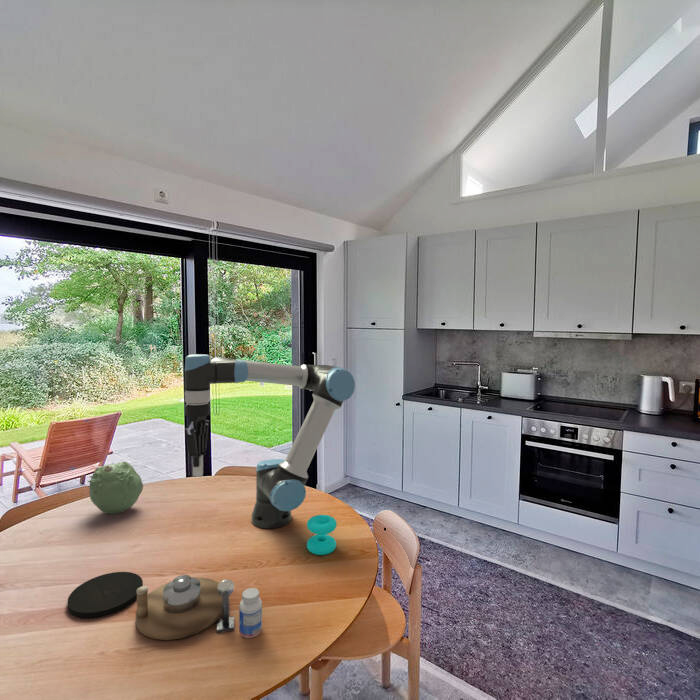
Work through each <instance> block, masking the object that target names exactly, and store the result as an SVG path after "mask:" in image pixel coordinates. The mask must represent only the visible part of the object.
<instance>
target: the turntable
mask: <svg viewBox="0 0 700 700" xmlns="http://www.w3.org/2000/svg"><path fill="white" fill-rule="evenodd" d="M193 578H196V579H198V580H199V581H200V602H199V604H198V605H197V606H196V607H195V608H193V609H192V610H190V611H187V612H184V613H179V614H172V613H168V612H166V611H165V610H164V608H163V590H164V588H165V586H166V585H167V584H168V583H169V582H167V583H165V584H163V585H160V586H159V587H156V588H155V589H153V590H152V591H150V592H148V591H149V588H148V586H146V585H143V586H142V587H139V588H138V589H137V600H136V611H135V626H136V628H137V630H138V631H139V633H141V634H142V635H144V636H146V637H148V638H151V639H154V640H163V641H165V640H166V641H167V640H169V641H171V640H178V639H183V638H188V637H189V636H193V635H196V634H199V633H201V632H202V631H203V630H206V629H208V628H209V627H211V626H212V625H213V624H214V623H216V622H217V621H218V619H219V618H221V617H222V596H220V595H219V594H218V592H217V587H218V584H219V583H220V582H219V581H217V580H215V579H211V578H207V577H193Z"/></svg>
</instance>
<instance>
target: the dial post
mask: <svg viewBox="0 0 700 700" xmlns="http://www.w3.org/2000/svg"><path fill="white" fill-rule="evenodd" d="M234 591H235V584H234V581H232V579H228V578H226V579H223V580H221V581H220V582H219V584H218V587H217V592H218V594H219V595H220V596H222V615H221V617H220V618H219V619H218V620H217V621H216V622H217V624H216V633H217V634H219V633H225V632H226V633H227V632H232V631H235V616H234V615H233V616H230V596H231V595H232V594H233V593H234Z"/></svg>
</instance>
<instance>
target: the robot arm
mask: <svg viewBox="0 0 700 700" xmlns="http://www.w3.org/2000/svg"><path fill="white" fill-rule="evenodd" d="M184 362H185V363H184V393H183V394H184V399H185V401H184V402H185V403H186V404H184V415H185V416H186V417H189V421H188V428H185V429H184V433H185V436H186V444H187V450H188V456H189V457H192V477H202V476H203V475H204V455H206V454H207V452H206V451H207V447H208V446H207V444H208V435H209V427H210V424H211V423H210V422H211V421H210V420H208V419H207V416H209V415H210V414H211V404H210V401H211V385H215V384H229V383H230V384H238V383H245V382H254V383H255V382H256V383H265V384H273V385H274V384H275V385H285V386H286V385H287V386H295V387H296V386H297V387H298V388H299V389H302V390H309V391H312V394H311V395H312V398H313V401H312V403H311V406H310V408H309V410H308V411H307V414H306V416H305V418H304V421H303V422H302V425H301V427H300V429H299V431H298V433H297V434H296V437H295V439H294V441H293V443H292V445H291V447H290V450H289V452H288V454H287V456H286V459H281V458H273V459H272V458H271V459H265V460H261V461H259V462H258V463H257V465H256V470H255V473H256V480H255V482H256V484H255V485H256V496H255V497H256V499H255V503H254V506H253V510H252V512H251V518H250V519H251V523H252V524H253V526H255V527H257V528H262V529H276V528H281V527H284V526H286V525H288V524H289V523H290V522H291V520H292V511H293V510H296V509H297V508H299V507H300V506H301V505H302V503H303V502H304V501H305V498H306V495H307V492H306V487H305V485H306V483H307V482H308V479H309V475H308V472H307V471H308V468H309V467H310V464H311V462H312V460H313V458H314V456H315V453H316V451H317V449H318V447H319V445H320V443H321V441H322V439H323V437H324V434H325V432H326V430H327V428H328V426H329V423H330V421H331V420H332V417H333V416H334V413H335V411H336V410H339V409H341V408H342V405H343V403H344V401H347V400H349V399H350V398H351V397H352V396H353V394H354V393H355V389H356V381H355V378H354V376H353V374H352V373H351V372H350V371H349V370H348V369H345V368H342V367H340V366H333V365H328V364H301V365H300V366H298V365H292V364H291V365H289V364H283V363H282V364H281V363H272V362H264V361H256V360H248V359H238V358H237V359H236V358H230V357H224V356H215V357H213V358H212V359H211V356H210V355H209V354H201V353H200V354H199V353H198V354H197V353H196V354H195V353H194V354H189V355H187V356H186V357H185V361H184Z"/></svg>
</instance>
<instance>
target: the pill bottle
mask: <svg viewBox="0 0 700 700" xmlns="http://www.w3.org/2000/svg"><path fill="white" fill-rule="evenodd" d="M241 595H242V596H241V600H240V603H239V607H238V608H239V609H238V611H239V615H238V616H239V619H238V623H239V624H238V625H239V626H238V627H239V634H240V636H241V637H242V638H243V637H244V638H247V639H250V638H254V637H255V638H256V636H258V635H259V634H260V633H261V632H262V629H263V618H262V617H263V611H262V610H263V601H262V599H261V598H260V591H259V589H257V588H254V587H249V588H246V589H245V590H244V591H243V592H242V594H241Z"/></svg>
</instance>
